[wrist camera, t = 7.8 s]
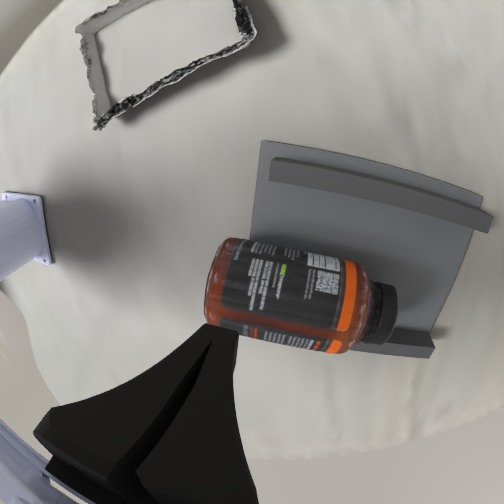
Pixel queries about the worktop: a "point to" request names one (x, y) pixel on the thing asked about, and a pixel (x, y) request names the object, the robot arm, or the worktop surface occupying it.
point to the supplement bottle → (297, 298)
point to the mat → (370, 228)
